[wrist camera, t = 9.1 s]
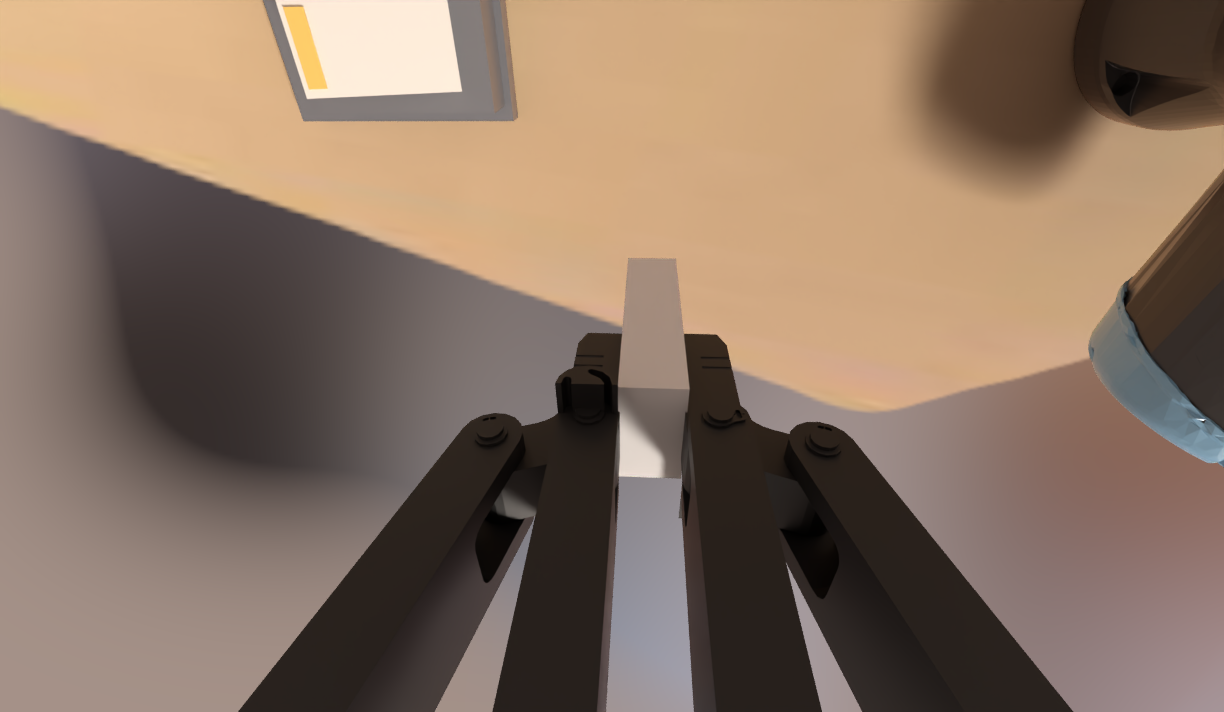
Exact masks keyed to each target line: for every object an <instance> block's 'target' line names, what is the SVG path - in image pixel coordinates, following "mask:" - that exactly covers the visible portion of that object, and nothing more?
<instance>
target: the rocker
mask: <svg viewBox="0 0 1224 712" xmlns="http://www.w3.org/2000/svg"><path fill="white" fill-rule="evenodd" d="M275 1H276V4H277V7H278V10H279V14H280V17H281V20H282V23H283V26H284V29H285V32H286V35H287V38H288V41H289V44H290V48H291V51H292V54H293V57H294V60H295V63H296V66H297V69H298V72H299V75H300V78H301V82H302V85H303V88H304V91H305V94H306V97H307V99H316V98H338V97H359V96H380V95H401V94H422V93H443V92H462V88H461V82H460V75H459V69H458V63H457V57H456V51H455V45H454V39H453V33H452V26H451V20H450V14H449V8H448V2H447V0H275Z"/></svg>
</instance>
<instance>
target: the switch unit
mask: <svg viewBox="0 0 1224 712" xmlns="http://www.w3.org/2000/svg"><path fill="white" fill-rule="evenodd" d="M263 2H264V5H265V8H266V11H267V14H268V17H269V20H270V23H271V26H272V29H273V31H274V34H275V37H276V40H277V43H278V46H279V49H280V52H281V55H282V58H283V61H284V64H285V67H286V70H287V73H288V76H289V79H290V82H291V85H292V88H293V91H294V94H295V97H296V100H297V103H298V106H299V109H300V112H301V115H302V118H303V121H514V120H515V119H517V118H518V113H517V104H516V94H515V85H514V76H513V67H512V58H511V48H510V39H509V30H508V21H507V12H506V3H505V0H447V2H448V8H449V14H450V20H451V26H452V33H453V39H454V45H455V51H456V57H457V63H458V69H459V75H460V82H461V88H462V92H443V93H422V94H401V95H380V96H359V97H338V98H316V99H307V97H306V94H305V91H304V88H303V85H302V82H301V78H300V75H299V72H298V69H297V66H296V63H295V60H294V57H293V54H292V51H291V48H290V44H289V41H288V38H287V35H286V32H285V29H284V26H283V23H282V20H281V17H280V14H279V10H278V7H277V4H276V1H275V0H263Z"/></svg>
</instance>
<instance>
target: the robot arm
mask: <svg viewBox="0 0 1224 712" xmlns="http://www.w3.org/2000/svg"><path fill="white" fill-rule="evenodd" d="M1074 66H1075V74H1076V78H1077V82H1078V85H1079V88H1080V90H1081V92H1082V94H1083V95H1084V97H1085V99H1086V100H1087V101H1088V103H1089V104H1090V105H1091V106H1092V107H1093V108H1094V109H1095V110H1096V111H1098V112H1099V113H1100V114H1102V115H1104V116H1105V117H1107V118H1109V119H1112V120H1114V121H1117V122H1121V123H1125V124H1129V125H1133V126H1137V127H1141V128H1146V129H1152V130H1186V129H1194V128H1201V127H1209V126H1217V125H1224V0H1087V1H1086V3H1085V6H1084V8H1083V11H1082V14H1081V17H1080V21H1079V25H1078V29H1077V34H1076V39H1075V47H1074ZM1088 350H1089V355H1090V359H1091V361H1092V363H1093V369H1094V371H1095V373H1096V374H1097V376H1098V378H1099V379H1100V380H1101V382H1102V383H1103V385H1104V386H1105V387H1106V388H1107V390H1108V391H1109V392H1110V393H1111V394H1112V395H1113V396H1114V397H1115V398H1116V399H1117V400H1118V401H1119V402H1120V403H1121V404H1122V405H1123V406H1124V407H1125V408H1126V409H1127V410H1128V411H1130V412H1131V413H1132V414H1133V415H1134V416H1135V417H1137V418H1138V419H1139V420H1140V421H1142V422H1143V423H1144V424H1146V425H1147V426H1148V427H1150V428H1151V429H1153V430H1154V431H1155V432H1156V433H1158V434H1159V435H1161V436H1162V437H1164V438H1165V439H1167V440H1168V441H1170V442H1171V443H1173V444H1174V445H1176V446H1178V447H1179V448H1181V449H1183V450H1184V451H1186V452H1188V453H1190V454H1191V455H1193V456H1195V457H1197V458H1199V459H1201V460H1203V461H1205V462H1207V463H1216V462H1217V463H1219V464H1220V465H1221V466H1223V467H1224V169H1223V171H1222V172H1221V173H1220V174H1219V176H1218V177H1217V178H1216V179H1215V180H1214V182H1213V183H1212V184H1211V185H1210V186H1209V188H1208V189H1207V190H1206V191H1205V193H1204V194H1203V195H1202V196H1201V197H1200V199H1199V200H1198V201H1197V202H1196V203H1195V205H1194V206H1193V207H1192V208H1191V210H1190V211H1189V212H1188V213H1187V214H1186V216H1185V217H1184V218H1183V219H1182V220H1181V222H1180V223H1179V224H1178V225H1177V226H1176V228H1175V229H1174V230H1173V231H1172V232H1171V233H1170V235H1169V236H1168V237H1167V238H1166V239H1165V240H1164V242H1163V243H1162V244H1161V245H1160V246H1159V247H1158V249H1157V250H1156V251H1155V252H1154V253H1153V255H1152V256H1151V257H1150V258H1149V259H1148V260H1147V262H1146V263H1145V264H1144V265H1143V266H1142V267H1141V269H1140V270H1139V271H1138V272H1137V273H1136V274H1135V276H1133V277H1131V278H1130V279H1129V280H1128V281H1126V282H1125V283H1124V284H1123V285H1122V286H1121V288H1120V289H1119V291H1118V294H1117V297H1116V301H1115V302H1114V304H1113V305H1112V306H1111V308H1110V309H1109V310H1108V312H1107V313H1106V314H1105V316H1104V317H1103V318H1102V320H1101V321H1100V322H1099V324H1098V325H1097V326H1096V328H1095V329H1094V331H1093V332H1092V335H1091V337H1090V340H1089V345H1088ZM731 368H732V367H731V362H730V360H729V354H728V349H727V345H726V344H725V343H724V342H723V341H722V340H721V339H720V338H719V337H718V336H717V335H710V334H684V332H683V322H682V313H681V303H680V294H679V284H678V275H677V265H676V259H657V258H628V268H627V280H626V292H625V304H624V317H623V329H622V334H610V333H609V334H608V333H588V334H587V335H586V336H585V337H584V338H583V339H582V340H581V341H580V342H579V343H578V348H577V353H576V357H575V362H574V367H573V368H572V369H569V370H567V371H566V372H564V373H563V374H561V375H560V376H559V378H558V379H557V381H556V383H555V386H556V397H557V407H558V414H556V415H555V416H554V417H552V418H550V419H548V420H546V421H542V422H539V423H535V424H531V425H525V426H521V423H520V422H519V421H518V420H517V419H516V418H515V417H512V416H510V415H507V414H498V413H493V414H488V415H483V416H480V417H478V418H476V419H474V420H472V421H470V422H469V423H468V424H467V425H466V426H465V427H464V428H463V429H462V430H461V432H460V433H459V434H458V435H457V436H456V438H455V439H454V440H453V442H452V443H451V444H450V445H449V447H448V448H447V449H446V450H445V452H444V453H443V454H442V455H441V457H440V458H439V459H438V460H437V462H436V463H435V464H434V466H433V467H432V468H431V469H430V471H429V472H428V473H427V474H426V476H425V477H424V478H423V479H422V481H421V482H420V483H419V484H418V486H417V487H416V488H415V490H414V491H413V492H412V493H411V494H410V496H409V497H408V498H407V500H406V501H405V502H404V503H403V505H402V506H401V507H400V509H399V510H398V511H397V512H396V513H395V515H394V516H393V517H392V518H391V520H390V521H389V522H388V523H387V525H386V526H385V527H384V529H383V530H382V531H381V532H380V534H379V535H378V536H377V538H376V539H375V540H374V541H373V542H372V544H371V545H370V546H369V547H368V549H367V550H366V551H365V553H364V554H363V555H362V556H361V558H360V559H359V560H358V561H357V563H356V564H355V565H354V566H353V568H352V569H351V570H350V571H349V573H348V574H347V575H346V576H345V578H344V579H343V580H342V581H341V583H340V584H339V585H338V587H337V588H336V589H335V590H334V592H333V593H332V594H331V595H330V597H329V598H328V599H327V601H326V602H325V603H324V604H323V605H322V607H321V608H320V609H319V610H318V612H317V613H316V614H315V616H314V617H313V618H312V619H311V621H310V622H309V623H308V624H307V626H306V627H305V628H304V629H303V631H302V632H301V633H300V634H299V636H298V637H297V638H296V640H295V641H294V642H293V643H292V645H291V646H290V647H289V648H288V650H287V651H286V652H285V653H284V655H283V656H282V657H281V658H280V660H279V661H278V662H277V663H276V665H275V666H274V667H273V668H272V670H271V671H270V672H269V674H268V675H267V676H266V677H265V679H264V680H263V681H262V682H261V684H260V685H259V686H258V687H257V689H256V690H255V691H254V692H253V694H252V695H251V696H250V697H249V699H248V700H247V701H246V703H245V704H244V705H243V706H242V708H241V709H240V710H239V712H435V709H436V708H437V706H438V704H439V702H440V700H441V698H442V696H443V694H444V692H445V690H446V688H447V686H448V684H449V683H450V680H451V678H452V677H453V675H454V673H455V671H456V669H457V667H458V665H459V663H460V661H461V659H462V657H463V655H464V653H465V651H466V650H467V648H468V646H469V644H470V641H471V640H472V638H473V636H474V634H475V632H476V630H477V628H478V626H479V624H480V622H481V620H482V619H483V617H484V615H485V613H486V611H487V609H488V607H489V605H490V603H491V601H492V599H493V597H494V595H495V593H496V591H497V590H498V588H499V586H500V584H501V582H502V580H503V578H504V576H505V574H506V572H507V570H508V568H509V566H510V564H511V562H512V560H513V558H514V557H515V555H516V553H517V551H518V549H519V547H520V545H521V543H522V541H523V539H524V537H525V535H526V533H527V531H528V529H529V528H530V525H531V524H532V522H533V519H534V516H535V520H534V525H533V529H532V534H531V539H530V543H529V548H528V553H527V557H526V562H525V566H524V570H523V575H522V580H521V584H520V589H519V593H518V598H517V602H516V607H515V611H514V616H513V621H512V625H511V630H510V634H509V639H508V644H507V648H506V652H505V657H504V662H503V666H502V671H501V675H500V680H499V685H498V689H497V694H496V698H495V703H494V708H493V712H606V700H607V699H606V698H607V682H608V665H609V648H610V632H611V614H612V598H613V580H614V564H615V547H616V530H617V513H618V496H619V490H618V489H619V486H618V485H619V483H618V481H619V476H630V477H656V478H657V477H658V478H681V471H682V491H681V501H680V511H679V518H682V524H683V540H684V556H685V572H686V589H687V604H688V605H687V606H688V622H689V637H690V653H691V671H692V688H693V704H694V712H822V710H821V706H820V702H819V697H818V693H817V689H816V685H815V681H814V677H813V673H812V668H811V665H810V660H809V656H808V652H807V648H806V644H805V640H804V635H803V631H802V627H801V623H800V619H799V615H798V611H797V607H796V602H795V598H794V594H793V590H792V586H791V582H790V578H789V573H788V569H787V565H788V567H789V569H790V571H791V573H792V575H793V577H794V579H795V580H796V583H797V584H798V586H799V588H800V590H801V592H802V594H803V596H804V598H805V600H806V602H807V604H808V606H809V608H810V610H811V612H812V613H813V616H814V618H815V620H816V622H817V623H818V626H819V628H820V630H821V632H822V633H823V636H824V637H825V639H826V641H827V643H828V645H829V647H830V649H831V651H832V653H833V655H834V657H835V659H836V661H837V663H838V665H839V667H840V669H841V671H842V673H843V675H844V677H845V679H846V681H847V682H848V684H849V687H850V688H851V690H852V692H853V694H854V696H855V698H856V700H857V702H858V704H859V706H860V708H861V710H862V712H1073V711H1072V710H1071V708H1070V707H1069V706H1068V705H1067V704H1066V702H1065V701H1064V700H1063V698H1062V697H1061V696H1060V695H1059V694H1058V692H1057V691H1056V690H1055V689H1054V687H1053V686H1052V685H1051V684H1050V683H1049V681H1048V680H1047V679H1046V678H1045V676H1044V675H1043V674H1042V673H1041V671H1040V670H1039V669H1038V668H1037V666H1036V665H1035V664H1034V663H1033V661H1032V660H1031V659H1030V658H1029V656H1028V655H1027V654H1026V653H1025V652H1024V650H1023V649H1022V648H1021V647H1020V646H1019V644H1018V643H1017V642H1016V640H1015V639H1014V638H1013V637H1012V636H1011V634H1010V633H1009V632H1008V631H1007V629H1006V628H1005V627H1004V626H1003V625H1002V623H1001V622H1000V621H999V620H998V618H997V617H996V616H995V615H994V613H993V612H992V611H991V610H990V608H989V607H988V606H987V605H986V603H985V602H984V601H983V600H982V598H981V597H980V596H979V595H978V593H977V592H976V591H975V590H974V589H973V588H972V586H971V585H970V584H969V582H968V581H967V580H966V579H965V578H964V576H963V575H962V574H961V572H960V571H959V570H958V569H957V568H956V566H955V565H954V564H953V563H952V561H951V560H950V559H949V558H948V556H947V555H946V554H945V553H944V551H943V550H942V549H941V548H940V547H939V545H938V544H937V543H936V542H935V540H934V539H933V538H932V537H931V535H930V534H929V533H928V532H927V530H926V529H925V528H924V527H923V526H922V524H921V523H920V522H919V521H918V519H917V518H916V517H915V516H914V514H913V513H912V512H911V511H910V509H909V508H908V507H907V506H906V505H905V503H904V502H903V501H902V500H901V498H900V497H899V496H898V495H897V493H896V492H895V491H894V490H893V488H892V487H891V486H890V485H889V484H888V482H887V481H886V480H885V479H884V477H883V476H882V475H881V474H880V472H879V471H878V470H877V469H876V467H875V466H874V465H873V464H872V462H871V461H870V460H869V459H868V458H867V456H866V455H865V454H864V453H863V451H862V450H861V449H860V448H859V446H858V445H857V444H856V443H855V441H854V440H853V439H852V438H851V437H849V436H848V435H847V434H846V433H845V432H844V431H842V430H840V429H838V428H836V427H834V426H832V425H829V424H824V423H821V422H806V423H802V424H799V425H797V426H795V427H794V428H793V429H792V430H791V431H790V434H787V433H783V432H779V431H775V430H771V429H769V428H766V427H763V426H761V425H759V424H757V423H755V422H753V421H752V420H751V418H750V416H749V414H748V412H747V411H746V410H745V409H744V408H743V407H741V406H740V402H739V398H738V393H737V389H736V384H735V380H734V376H733V371H732V369H731ZM786 563H787V565H786Z"/></svg>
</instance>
